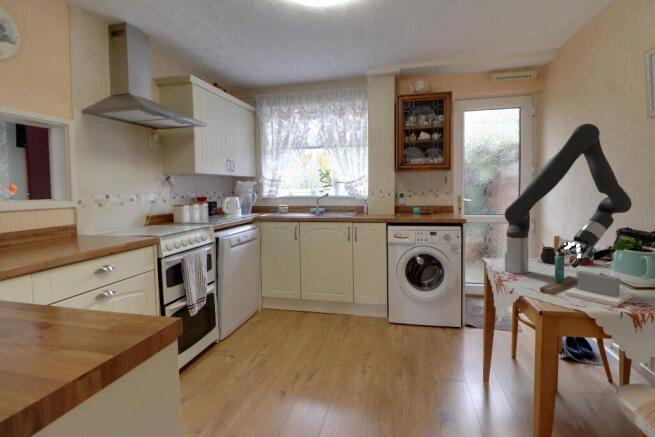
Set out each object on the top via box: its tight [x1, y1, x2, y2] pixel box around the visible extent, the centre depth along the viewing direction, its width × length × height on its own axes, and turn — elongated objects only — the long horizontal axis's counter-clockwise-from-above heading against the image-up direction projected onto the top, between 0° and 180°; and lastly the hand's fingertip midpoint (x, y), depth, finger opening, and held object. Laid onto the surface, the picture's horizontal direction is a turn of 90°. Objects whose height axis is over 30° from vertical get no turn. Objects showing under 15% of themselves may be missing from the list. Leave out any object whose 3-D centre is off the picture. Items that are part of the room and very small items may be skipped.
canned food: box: [568, 254, 595, 267], centre depth 172 cm, size 11×10×10 cm
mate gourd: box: [539, 242, 557, 264], centre depth 178 cm, size 7×8×10 cm
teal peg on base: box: [539, 255, 578, 295], centre depth 140 cm, size 4×24×13 cm, turn 122°
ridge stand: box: [564, 271, 633, 307], centre depth 127 cm, size 16×14×8 cm
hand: (564, 264), depth 140 cm, fingers open, 8 cm apart
